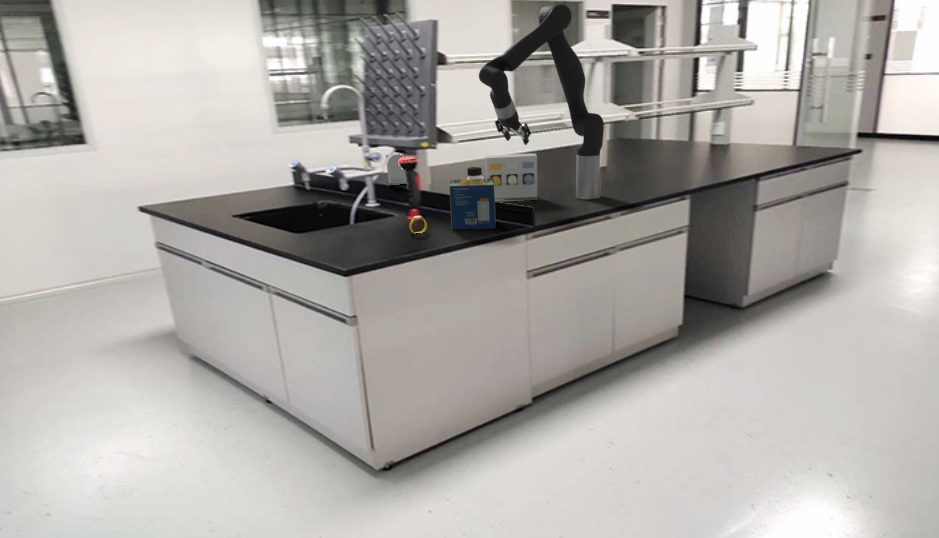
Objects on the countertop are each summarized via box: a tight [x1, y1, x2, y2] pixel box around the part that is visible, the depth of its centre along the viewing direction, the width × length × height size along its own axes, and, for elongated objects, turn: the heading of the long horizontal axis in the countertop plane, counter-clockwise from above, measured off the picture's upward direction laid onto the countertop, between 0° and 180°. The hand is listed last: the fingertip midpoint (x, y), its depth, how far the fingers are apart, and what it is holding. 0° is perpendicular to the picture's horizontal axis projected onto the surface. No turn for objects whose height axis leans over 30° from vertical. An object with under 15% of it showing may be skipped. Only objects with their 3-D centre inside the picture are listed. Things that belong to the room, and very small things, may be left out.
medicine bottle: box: [466, 165, 486, 179], centre depth 260 cm, size 7×7×12 cm
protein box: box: [448, 178, 496, 230], centre depth 214 cm, size 10×15×16 cm
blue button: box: [524, 174, 534, 185], centre depth 243 cm, size 4×5×4 cm
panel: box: [485, 152, 538, 201], centre depth 247 cm, size 20×6×18 cm, turn 91°
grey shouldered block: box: [385, 152, 407, 184], centre depth 287 cm, size 8×6×15 cm
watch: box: [408, 215, 428, 235], centre depth 209 cm, size 6×3×6 cm, turn 116°
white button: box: [507, 174, 517, 186], centre depth 243 cm, size 4×5×4 cm
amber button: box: [492, 175, 501, 186], centre depth 243 cm, size 4×5×4 cm
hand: (517, 141), depth 242 cm, fingers open, 8 cm apart
